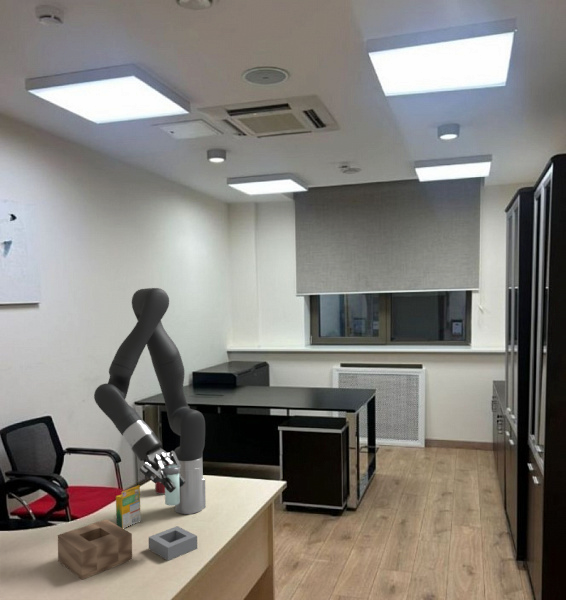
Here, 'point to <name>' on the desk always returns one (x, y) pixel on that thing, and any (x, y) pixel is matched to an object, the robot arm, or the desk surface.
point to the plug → (173, 475)
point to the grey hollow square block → (172, 543)
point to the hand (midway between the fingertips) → (178, 487)
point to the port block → (94, 548)
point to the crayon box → (128, 507)
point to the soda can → (159, 487)
